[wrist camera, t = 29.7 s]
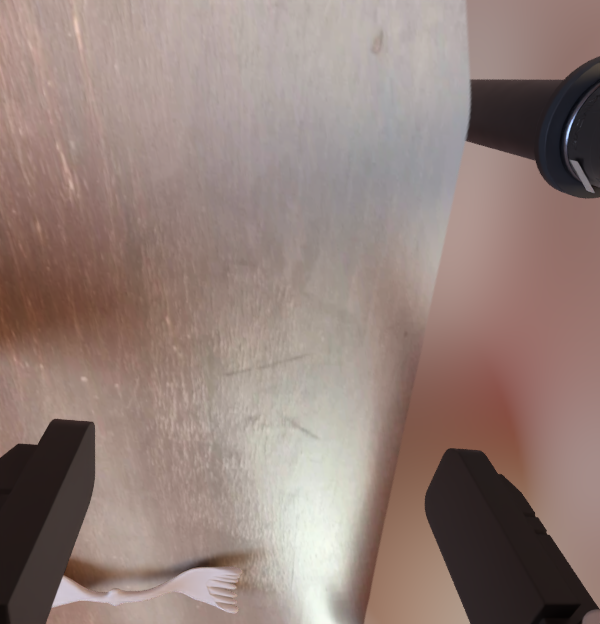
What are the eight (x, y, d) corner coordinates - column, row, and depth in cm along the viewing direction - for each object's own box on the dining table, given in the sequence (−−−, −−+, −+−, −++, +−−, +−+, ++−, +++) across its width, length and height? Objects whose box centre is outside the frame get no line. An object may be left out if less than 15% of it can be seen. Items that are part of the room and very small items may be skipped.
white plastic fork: (238, 590, 62) (238, 617, 59) (-12, 599, 57) (-26, 628, 54) (243, 549, 58) (243, 575, 55) (-26, 554, 53) (-42, 583, 50)
